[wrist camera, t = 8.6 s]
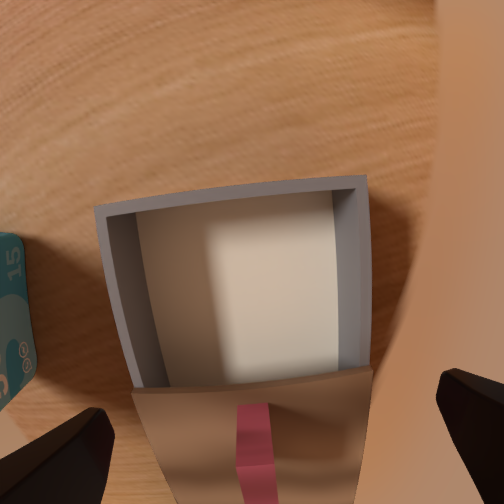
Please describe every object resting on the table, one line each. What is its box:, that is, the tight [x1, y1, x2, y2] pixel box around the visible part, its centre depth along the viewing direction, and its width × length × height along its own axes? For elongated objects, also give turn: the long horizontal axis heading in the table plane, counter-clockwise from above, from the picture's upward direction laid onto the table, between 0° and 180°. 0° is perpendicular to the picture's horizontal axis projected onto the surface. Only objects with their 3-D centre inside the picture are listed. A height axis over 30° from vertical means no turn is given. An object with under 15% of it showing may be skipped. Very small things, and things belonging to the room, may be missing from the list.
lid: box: [131, 365, 373, 504], centre depth 15 cm, size 16×13×5 cm
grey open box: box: [94, 175, 372, 388], centre depth 18 cm, size 16×13×5 cm
